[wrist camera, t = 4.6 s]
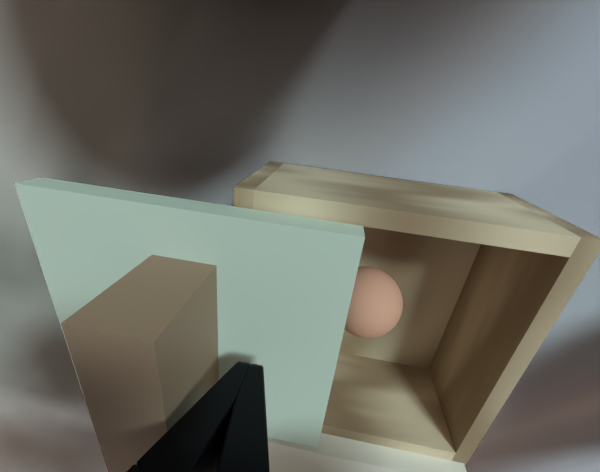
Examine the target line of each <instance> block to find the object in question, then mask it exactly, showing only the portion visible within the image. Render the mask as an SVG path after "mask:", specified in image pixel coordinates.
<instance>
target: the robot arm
mask: <svg viewBox="0 0 600 472" xmlns="http://www.w3.org/2000/svg"><path fill="white" fill-rule="evenodd" d="M126 472H270V468H269V451H268V434H267V417H266V401H265V384H264V368H263V366H262V365H258V364H253V363H252V364H250V363H248V362H243V361H238V362H237V363H235V364H234V365H233V366H232V367H231V368H230V369H229V370H228V371H227V372H226V373H225V374H224V375H223V376H222V377H221V378H220V379H219V380H218V381H217V382H216V383H215V384H214V385H213V386H212V387H211V388H210V389H209V390H208V391H207V392H206V393H205V394H204V395H203V396H202V397H201V398H200V399H199V400H198V401H197V402H196V403H195V404H194V405H193V406H192V407H191V408H190V409H189V410H188V411H187V412H186V413H185V414H184V415H183V416H182V417H181V418H180V419H179V420H178V421H177V422H176V423H175V424H174V425H173V426H172V427H171V428H170V429H169V430H168V431H167V432H166V433H165V434H164V435H163V436H162V437H161V438H160V439H159V440H158V441H157V442H156V443H155V444H154V445H153V446H152V447H151V448H150V449H149V450H148V451H147V452H146V453H145V454H144V455H143V456H142V457H141V458H140V459H139V460H138V461H137V462H136V465H135V464H134V465H132V466H131V467H130V468H129V469H128V470H127V471H126Z"/></svg>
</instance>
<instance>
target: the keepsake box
mask: <svg viewBox="0 0 600 472" xmlns="http://www.w3.org/2000/svg"><path fill="white" fill-rule="evenodd" d="M234 206H235V207H241V208H248V209H255V210H261V211H268V212H274V213H281V214H288V215H294V216H301V217H308V218H314V219H321V220H327V221H334V222H341V223H347V224H354V225H361V226H363V228H364V234H365V240H364V244H363V249H362V253H361V258H360V262H359V266H358V267H362V266H367V267H374V268H377V269H380V270H382V271H384V272H385V273H387V274H388V275H389V276H390V277H392V279H393V280H394V281H395V282H396V284H397V285H398V287H399V289H400V291H401V295H402V299H403V309H402V314H401V317H400V319H399V321H398V323H397V324H396V326H395V327H394V328H393V329H392V330H391V331H389V332H388V333H386V334H385V335H382V336H380V337H376V338H361V337H358V336H355V335H353V334H351V333H349V332H347V331H346V330H345V329H344V333H343V338H342V342H341V346H340V351H339V355H338V360H337V364H336V369H335V373H334V378H333V382H332V386H331V391H330V395H329V400H328V404H327V409H326V413H325V418H324V422H323V426H322V431H321V433H324V434H329V435H334V436H338V437H343V438H348V439H352V440H357V441H362V442H366V443H371V444H375V445H380V446H385V447H389V448H394V449H399V450H403V451H408V452H413V453H417V454H422V455H427V456H431V457H436V458H441V459H445V460H450V461H455V462H459V463H464V465H465V466H466V464H467V462H468V461H469V459H470V458H471V456H472V454H473V453H474V451H475V450H476V448H477V446H478V445H479V443H480V442H481V440H482V438H483V437H484V435H485V434H486V432H487V430H488V429H489V427H490V426H491V424H492V422H493V421H494V419H495V418H496V416H497V414H498V413H499V411H500V410H501V408H502V407H503V405H504V403H505V402H506V400H507V399H508V397H509V395H510V394H511V392H512V391H513V389H514V387H515V386H516V384H517V383H518V381H519V379H520V378H521V376H522V375H523V373H524V371H525V370H526V368H527V367H528V365H529V363H530V362H531V360H532V359H533V357H534V355H535V354H536V352H537V351H538V349H539V347H540V346H541V344H542V343H543V341H544V339H545V338H546V336H547V335H548V333H549V332H550V330H551V328H552V327H553V325H554V324H555V322H556V320H557V319H558V317H559V316H560V314H561V312H562V311H563V309H564V308H565V306H566V304H567V303H568V301H569V300H570V298H571V296H572V295H573V293H574V292H575V290H576V288H577V287H578V285H579V284H580V282H581V280H582V279H583V277H584V276H585V274H586V272H587V271H588V269H589V268H590V266H591V264H592V263H593V261H594V260H595V258H596V257H597V255H598V253H599V252H600V238H599V237H597V236H595V235H593V234H591V233H589V232H587V231H585V230H583V229H581V228H579V227H577V226H575V225H573V224H571V223H569V222H567V221H565V220H563V219H561V218H559V217H557V216H555V215H553V214H551V213H549V212H547V211H545V210H543V209H541V208H539V207H537V206H535V205H533V204H531V203H529V202H527V201H525V200H523V199H521V198H519V197H517V196H515V195H513V194H507V193H500V192H492V191H485V190H477V189H470V188H463V187H455V186H448V185H441V184H433V183H426V182H418V181H411V180H404V179H396V178H389V177H382V176H374V175H367V174H359V173H352V172H345V171H337V170H330V169H323V168H315V167H308V166H300V165H293V164H286V163H278V162H271V161H270V162H269V163H267V164H266V165H264V166H263V167H262V168H260V169H259V170H257V171H256V172H254V173H253V174H252V175H250V176H249V177H247V178H246V179H244V180H243V181H242V182H240V183H239V184H237V185H236V186H234Z"/></svg>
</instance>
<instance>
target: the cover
mask: <svg viewBox="0 0 600 472" xmlns="http://www.w3.org/2000/svg"><path fill="white" fill-rule="evenodd" d="M14 184H15V188H16V191H17V194H18V197H19V200H20V203H21V206H22V209H23V212H24V215H25V218H26V221H27V224H28V228H29V231H30V234H31V237H32V240H33V243H34V246H35V249H36V252H37V255H38V258H39V261H40V264H41V268H42V271H43V274H44V277H45V280H46V283H47V286H48V289H49V292H50V295H51V298H52V301H53V304H54V308H55V311H56V314H57V317H58V320H59V323H60V326H61V329H62V332H63V335H64V338H65V341H66V344H67V348H68V351H69V354H70V357H71V360H72V363H73V366H74V369H75V372H76V375H77V378H78V381H79V384H80V388H81V391H82V394H83V397H85V400H86V403H87V406H88V409H89V412H90V416H91V419H92V422H93V425H94V428H95V431H96V434H97V437H98V440H99V443H100V446H101V450H102V453H103V456H104V459H105V462H106V465H107V468H108V471H109V472H126V471H127V470H128V469H129V468H130V467H131V466H132V465H134V464H135V465H136V462H137V461H138V460H139V459H140V458H141V457H142V456H143V455H144V454H145V453H146V452H147V451H148V450H149V449H150V448H151V447H152V446H153V445H154V444H155V443H156V442H157V441H158V440H159V439H160V438H161V437H162V436H163V435H164V434H165V433H166V432H167V431H168V430H169V429H170V428H171V427H172V426H173V425H174V424H175V423H176V422H177V421H178V420H179V419H180V418H181V417H182V416H183V415H184V414H185V413H186V412H187V411H188V410H189V409H190V408H191V407H192V406H193V405H194V404H195V403H196V402H197V401H198V400H199V399H200V398H201V397H202V396H203V395H204V394H205V393H206V392H207V391H208V390H209V389H210V388H211V387H212V386H213V385H214V384H215V383H216V382H217V381H218V380H219V379H220V378H221V377H222V376H223V375H224V374H225V373H226V372H227V371H228V370H229V369H230V368H231V367H232V366H233V365H234V364H235V363H237V362H238V361H243V362H248V363H250V364H252V363H253V364H258V365H262V366H263V368H264V384H265V401H266V417H267V434H268V437H270V438H274V439H279V440H283V441H288V442H293V443H297V444H302V445H306V446H311V447H315V448H318V444H319V440H320V435H321V431H322V426H323V422H324V418H325V413H326V409H327V404H328V400H329V395H330V391H331V386H332V382H333V378H334V373H335V369H336V364H337V360H338V355H339V351H340V346H341V342H342V338H343V333H344V329H345V324H346V320H347V315H348V311H349V306H350V302H351V298H352V293H353V289H354V284H355V280H356V275H357V271H358V266H359V262H360V258H361V253H362V249H363V244H364V240H365V234H364V228H363V226H361V225H354V224H347V223H341V222H334V221H327V220H321V219H314V218H308V217H301V216H294V215H288V214H281V213H274V212H268V211H261V210H255V209H248V208H241V207H235V206H228V205H221V204H215V203H208V202H201V201H195V200H188V199H182V198H175V197H168V196H162V195H155V194H148V193H142V192H135V191H129V190H122V189H115V188H109V187H102V186H95V185H89V184H82V183H76V182H69V181H62V180H56V179H49V178H42V177H40V178H36V179H31V180H27V181H22V182H18V183H14Z"/></svg>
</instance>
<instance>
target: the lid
mask: <svg viewBox="0 0 600 472" xmlns="http://www.w3.org/2000/svg"><path fill="white" fill-rule="evenodd" d="M268 451H269V468H270V472H467V471H466V468H465V465H464V463H459V462H455V461H450V460H445V459H441V458H436V457H431V456H427V455H422V454H417V453H413V452H408V451H403V450H399V449H394V448H389V447H385V446H380V445H375V444H371V443H366V442H362V441H357V440H352V439H348V438H343V437H338V436H334V435H329V434H324V433H321V435H320V440H319V444H318V448H315V447H311V446H306V445H302V444H297V443H293V442H288V441H283V440H279V439H274V438H270V437H268Z"/></svg>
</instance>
